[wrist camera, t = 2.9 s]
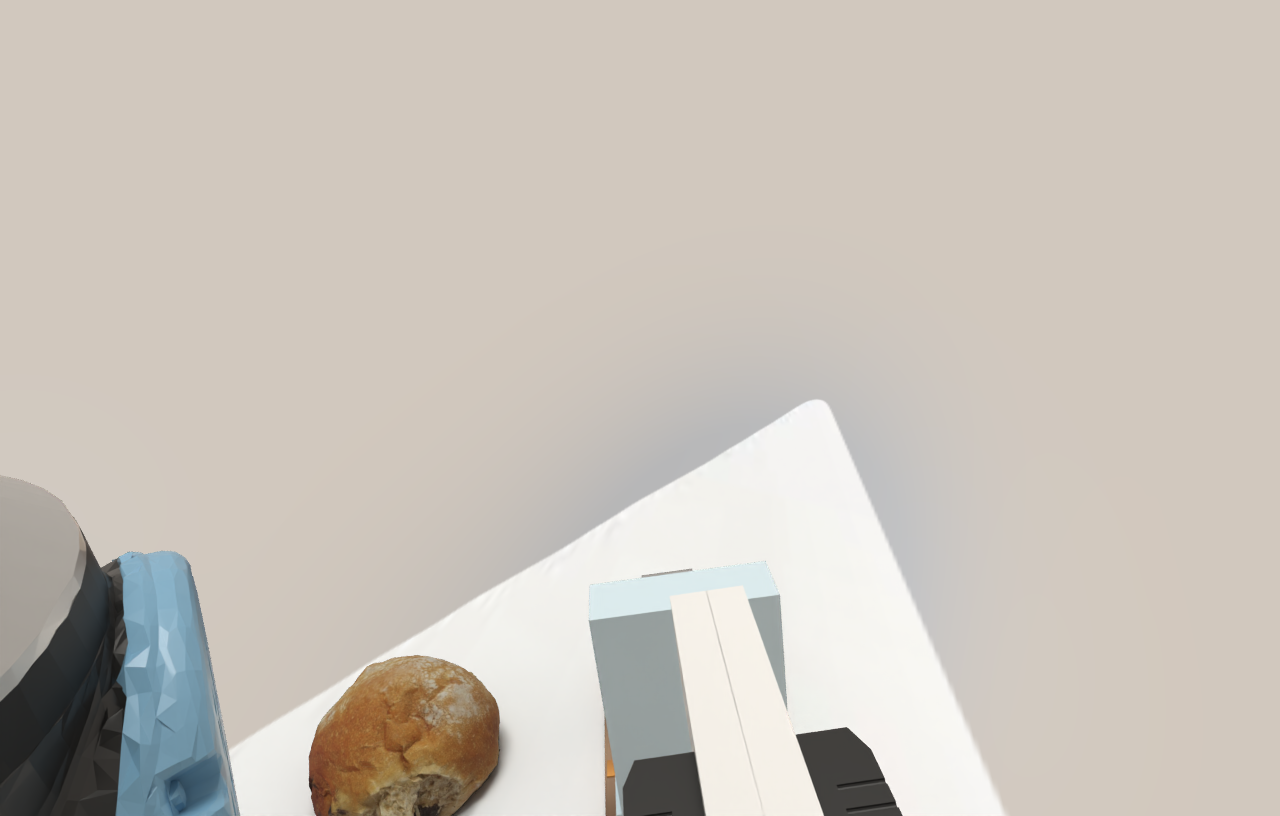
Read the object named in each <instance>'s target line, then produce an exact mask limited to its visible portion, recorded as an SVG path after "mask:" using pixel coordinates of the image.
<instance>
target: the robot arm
mask: <svg viewBox="0 0 1280 816" xmlns="http://www.w3.org/2000/svg"><path fill="white" fill-rule="evenodd" d="M670 603H671V610H672V617H673V625H674V632H675V639H676V647H677V654H678V661H679V669H680V676H681V683H682V690H683V698H684V705H685V711H686V718H687V724H688V730H689V736H690V743H691V749H692V752H689V753H682V754H675V755H668V756H661V757H655V758H648V759H641V760H634V762H633V765H632V767H631V769H630V772H629V774H628V777H627V779H626V781H625V784H624V786H623V814H624V816H902V814H901V811H900V809H899V807H898V808H897V805H896V801H895V799H894V797H893V795H892V793H891V790H890V788H889V786H888V784H886V782H885V778H884V776H883V774H882V772H881V769H880V767H879V765H878V763H877V761H876V759H875V757H874V755H873V753H872V751H871V749H870V748H869V747H868V746H867V745H866V744H865V743H863V742H862V741H861V740H860V739H859V738H858V737H857V736H856V735H855V734H854V733H853V732H852V731H851V730H849V729H848V728H847V727H845V728H838V729H831V730H825V731H818V732H811V733H804V734H797V735H795V732H794V729H793V726H792V724H791V721H790V718H789V715H788V712H787V709H786V707H785V704H784V701H783V698H782V695H781V692H780V690H779V687H778V684H777V681H776V678H775V675H774V673H773V670H772V667H771V664H770V661H769V658H768V655H767V653H766V650H765V647H764V644H763V641H762V638H761V636H760V633H759V630H758V627H757V624H756V621H755V619H754V616H753V613H752V610H751V607H750V604H749V601H748V599H747V596H746V593H745V590H744V587H743V585H742V586H735V587H728V588H721V589H714V590H707V591H700V592H693V593H687V594H680V595H673V596H670ZM0 816H240V813H239V807H238V802H237V796H236V791H235V785H234V780H233V774H232V769H231V763H230V758H229V753H228V748H227V742H226V736H225V731H224V726H223V721H222V715H221V710H220V705H219V701H218V696H217V690H216V685H215V680H214V674H213V669H212V663H211V658H210V652H209V648H208V642H207V637H206V633H205V627H204V623H203V618H202V613H201V608H200V603H199V599H198V594H197V590H196V586H195V582H194V579H193V576H192V572H191V567H190V564H189V562H188V561H187V560H186V559H185V558H184V557H183V556H182V555H180V554H178V553H177V552H172V551H160V552H154V553H149V554H143V553H139V552H127V553H126V554H124V555H122V556H119V557H118V558H117V559H115V560H112V562H110V563H109V564H107V565H105V566H104V567H102V568H100V566H99V564H98V562H97V560H96V558H95V556H94V555H93V552H92V551H91V548H90V546H89V545H88V542H87V541H86V539H85V536H84V534H83V532H82V531H81V529H80V527H79V525H78V523H77V522H76V520H75V519H74V517H73V516H72V515H71V513H70V512H69V511H68V509H67V508H66V506H65V505H64V503H63V502H62V500H60V499H59V498H57V497H56V496H54V495H53V494H51V493H50V492H48V491H47V490H45V489H43V488H41V487H38V486H35V485H33V484H31V483H28V482H25V481H22V480H19V479H15V478H10V477H5V476H1V475H0Z"/></svg>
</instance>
